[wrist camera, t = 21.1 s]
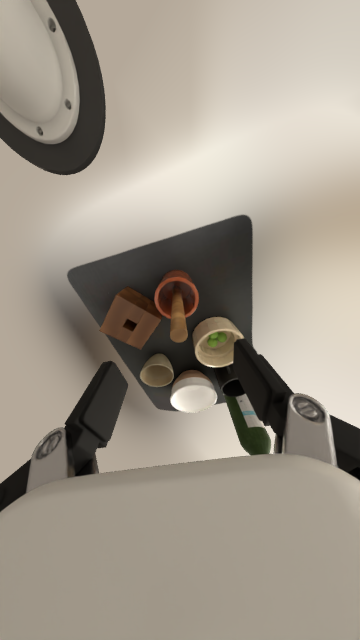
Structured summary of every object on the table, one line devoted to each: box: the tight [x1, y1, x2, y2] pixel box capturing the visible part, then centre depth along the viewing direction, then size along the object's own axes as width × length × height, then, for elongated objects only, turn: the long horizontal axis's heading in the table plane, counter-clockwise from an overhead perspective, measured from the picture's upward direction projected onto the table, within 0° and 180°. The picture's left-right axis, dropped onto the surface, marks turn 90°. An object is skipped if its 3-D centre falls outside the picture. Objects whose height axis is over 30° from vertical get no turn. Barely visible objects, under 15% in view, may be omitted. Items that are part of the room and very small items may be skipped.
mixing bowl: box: [192, 317, 244, 367], centre depth 37 cm, size 13×13×7 cm
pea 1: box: [208, 332, 218, 339], centre depth 37 cm, size 3×3×3 cm
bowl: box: [170, 370, 217, 412], centre depth 47 cm, size 16×16×8 cm
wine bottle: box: [224, 394, 271, 455], centre depth 38 cm, size 8×8×30 cm
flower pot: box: [140, 354, 174, 387], centre depth 41 cm, size 10×10×7 cm
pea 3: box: [217, 332, 227, 342], centre depth 38 cm, size 3×3×3 cm
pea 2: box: [208, 338, 218, 347], centre depth 39 cm, size 3×3×3 cm
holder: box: [100, 286, 162, 349], centre depth 33 cm, size 11×11×7 cm
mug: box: [214, 363, 246, 397], centre depth 42 cm, size 9×12×9 cm
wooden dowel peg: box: [170, 285, 188, 342], centre depth 23 cm, size 2×2×20 cm
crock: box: [154, 270, 199, 319], centre depth 28 cm, size 8×8×10 cm
